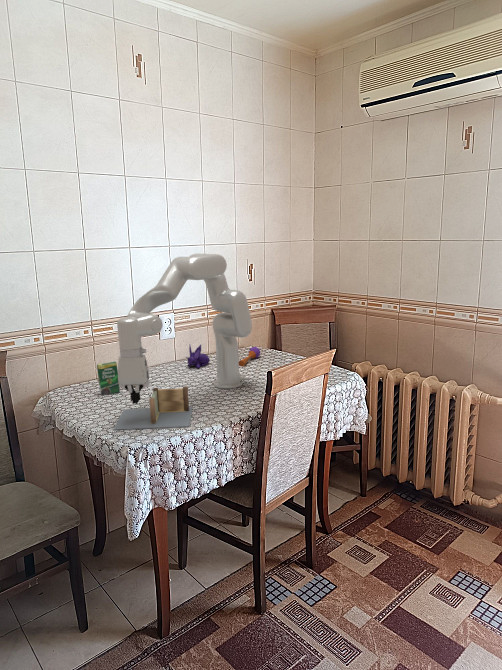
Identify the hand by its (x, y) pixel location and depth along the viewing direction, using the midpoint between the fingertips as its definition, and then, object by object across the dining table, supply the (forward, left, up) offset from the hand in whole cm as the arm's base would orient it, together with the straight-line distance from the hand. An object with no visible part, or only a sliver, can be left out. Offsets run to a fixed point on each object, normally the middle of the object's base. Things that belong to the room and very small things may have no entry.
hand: (135, 402), depth 176 cm
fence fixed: (-12, -7, -7) cm, 15 cm away
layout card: (-6, -2, -7) cm, 9 cm away
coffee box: (+17, -32, -7) cm, 37 cm away
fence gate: (-6, -1, -6) cm, 9 cm away
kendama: (-44, -73, -8) cm, 86 cm away
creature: (-18, -68, -7) cm, 71 cm away
